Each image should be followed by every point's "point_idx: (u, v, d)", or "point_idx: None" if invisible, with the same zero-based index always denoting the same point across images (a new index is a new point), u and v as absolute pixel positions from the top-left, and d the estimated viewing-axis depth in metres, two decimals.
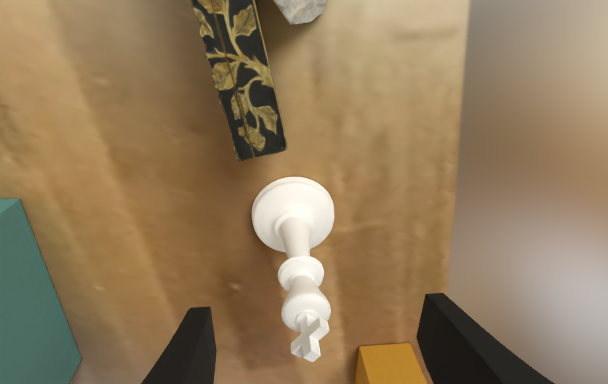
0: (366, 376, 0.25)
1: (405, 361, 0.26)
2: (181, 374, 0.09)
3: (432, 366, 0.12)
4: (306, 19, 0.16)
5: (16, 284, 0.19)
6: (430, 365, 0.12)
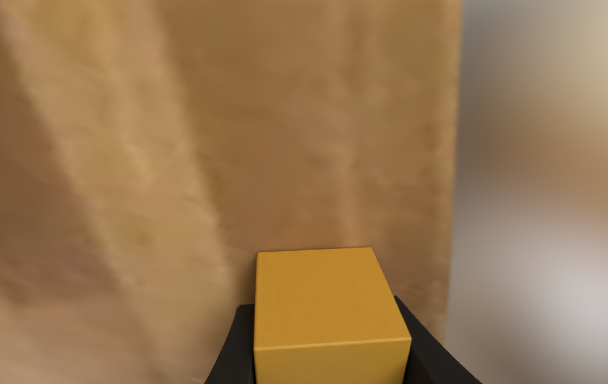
0: None
1: (357, 278, 0.11)
2: (245, 369, 0.09)
3: None
4: None
5: None
6: None
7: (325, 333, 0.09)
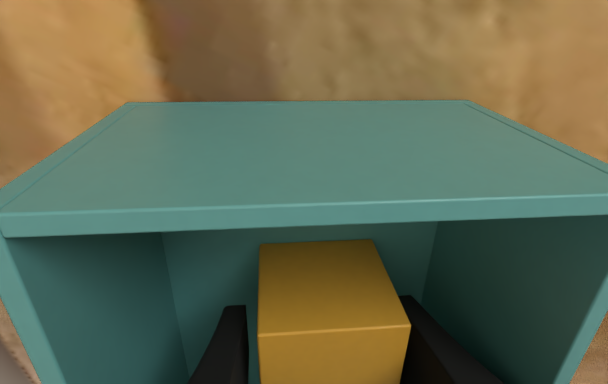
0: (258, 296, 0.10)
1: (357, 269, 0.11)
2: (228, 371, 0.09)
3: None
4: None
5: None
6: None
7: (326, 320, 0.09)
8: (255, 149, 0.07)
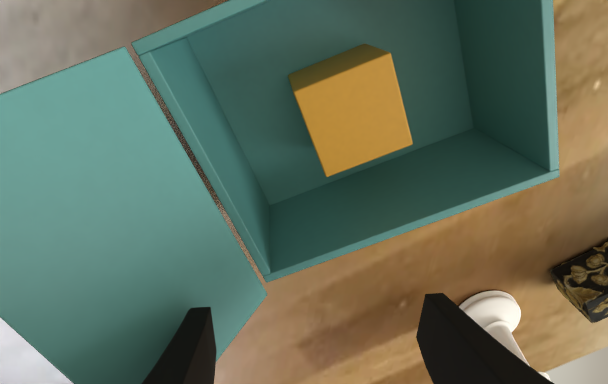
0: (374, 49, 0.15)
1: None
2: (181, 374, 0.09)
3: (432, 366, 0.12)
4: None
5: None
6: (430, 365, 0.12)
7: (399, 94, 0.15)
8: None
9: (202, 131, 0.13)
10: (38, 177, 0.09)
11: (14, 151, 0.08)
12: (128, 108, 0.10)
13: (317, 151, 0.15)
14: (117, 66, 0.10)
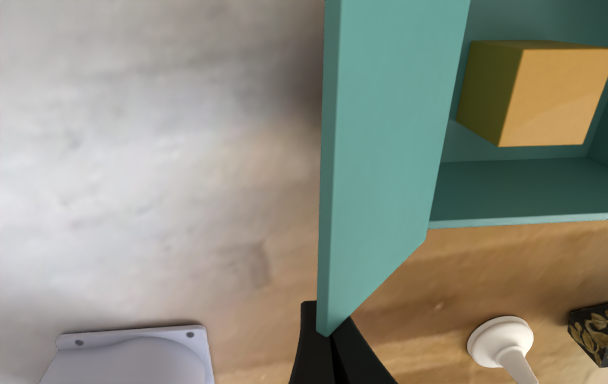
0: (583, 44, 0.16)
1: None
2: (328, 363, 0.09)
3: None
4: None
5: None
6: None
7: None
8: None
9: None
10: None
11: None
12: None
13: (506, 117, 0.15)
14: None
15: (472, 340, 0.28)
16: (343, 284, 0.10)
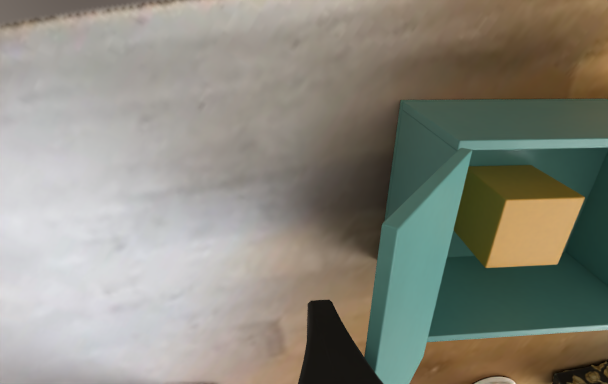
0: (558, 182, 0.18)
1: None
2: (337, 362, 0.09)
3: None
4: None
5: None
6: None
7: None
8: None
9: None
10: (423, 250, 0.10)
11: (427, 229, 0.10)
12: (455, 198, 0.12)
13: (492, 247, 0.18)
14: (466, 165, 0.12)
15: None
16: None
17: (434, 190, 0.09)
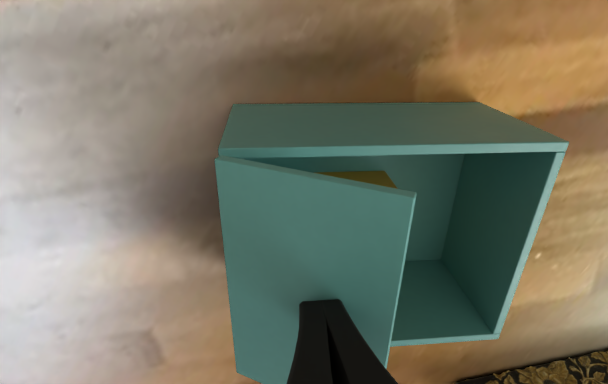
0: None
1: None
2: (326, 363, 0.09)
3: None
4: None
5: None
6: None
7: None
8: None
9: None
10: None
11: None
12: None
13: None
14: None
15: None
16: None
17: (332, 176, 0.10)
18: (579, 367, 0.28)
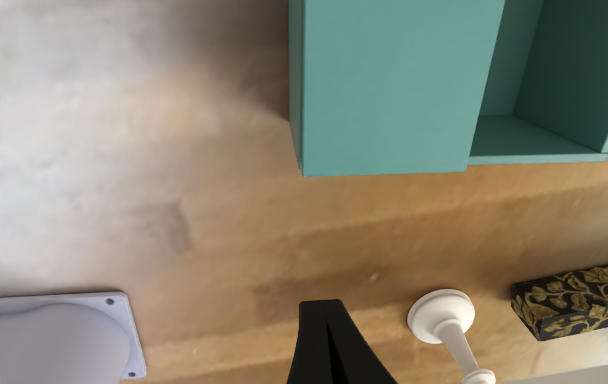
0: None
1: None
2: (326, 363, 0.09)
3: None
4: None
5: None
6: None
7: None
8: None
9: None
10: None
11: None
12: None
13: None
14: None
15: (411, 314, 0.27)
16: None
17: None
18: None
